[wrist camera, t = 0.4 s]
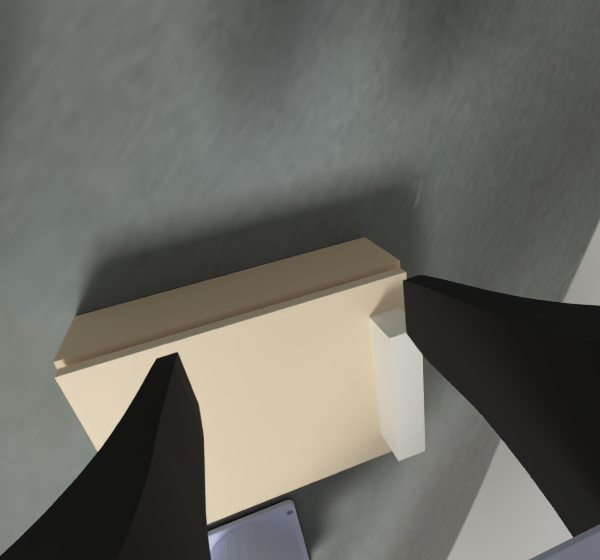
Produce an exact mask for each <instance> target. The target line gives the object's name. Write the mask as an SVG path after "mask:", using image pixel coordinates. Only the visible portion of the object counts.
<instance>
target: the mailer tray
mask: <svg viewBox="0 0 600 560" xmlns="http://www.w3.org/2000/svg"><path fill="white" fill-rule="evenodd" d="M396 268H400V260H398V259H397V258H395V257H394V256H393V255H391V254H390V253H388V252H387V251H385V250H384V249H382V248H381V247H379V246H378V245H376V244H375V243H373V242H372V241H370V240H369V239H367V238H366V237H362V238H359V239H355V240H352V241H348V242H344V243H341V244H337V245H333V246H330V247H326V248H322V249H319V250H315V251H311V252H308V253H304V254H301V255H297V256H293V257H290V258H286V259H282V260H279V261H275V262H271V263H268V264H264V265H260V266H257V267H253V268H249V269H246V270H242V271H239V272H235V273H231V274H228V275H224V276H220V277H217V278H213V279H209V280H206V281H202V282H198V283H195V284H191V285H188V286H184V287H180V288H177V289H173V290H169V291H166V292H162V293H158V294H155V295H151V296H147V297H144V298H140V299H137V300H133V301H129V302H126V303H122V304H118V305H115V306H111V307H107V308H104V309H100V310H96V311H93V312H89V313H86V314H82V315H78V316H75V317H74V320H73V322H72V324H71V326H70V328H69V330H68V332H67V334H66V336H65V338H64V341H63V343H62V345H61V347H60V349H59V351H58V353H57V355H56V357H55V359H54V364H55V366H56V368H57V369H59V368H62V367H66V366H69V365H72V364H76V363H79V362H82V361H86V360H89V359H93V358H96V357H99V356H103V355H106V354H109V353H113V352H116V351H120V350H123V349H126V348H130V347H133V346H136V345H140V344H143V343H147V342H150V341H153V340H157V339H160V338H163V337H167V336H170V335H174V334H177V333H180V332H184V331H187V330H190V329H194V328H197V327H201V326H204V325H207V324H211V323H214V322H217V321H221V320H224V319H228V318H231V317H234V316H238V315H241V314H244V313H248V312H251V311H255V310H258V309H261V308H265V307H268V306H271V305H275V304H278V303H281V302H285V301H288V300H292V299H295V298H298V297H302V296H305V295H308V294H312V293H315V292H319V291H322V290H325V289H329V288H332V287H335V286H339V285H342V284H346V283H349V282H352V281H356V280H359V279H362V278H366V277H369V276H373V275H376V274H379V273H383V272H386V271H389V270H393V269H396Z"/></svg>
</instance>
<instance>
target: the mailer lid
mask: <svg viewBox="0 0 600 560" xmlns="http://www.w3.org/2000/svg"><path fill="white" fill-rule="evenodd" d="M406 279H407V277H406V271H404V270H403V269H401V268H396V269H393V270H389V271H386V272H383V273H379V274H376V275H373V276H369V277H366V278H362V279H359V280H356V281H352V282H349V283H346V284H342V285H339V286H335V287H332V288H329V289H325V290H322V291H319V292H315V293H312V294H308V295H305V296H302V297H298V298H295V299H292V300H288V301H285V302H281V303H278V304H275V305H271V306H268V307H265V308H261V309H258V310H255V311H251V312H248V313H244V314H241V315H238V316H234V317H231V318H228V319H224V320H221V321H217V322H214V323H211V324H207V325H204V326H201V327H197V328H194V329H190V330H187V331H184V332H180V333H177V334H174V335H170V336H167V337H163V338H160V339H157V340H153V341H150V342H147V343H143V344H140V345H136V346H133V347H130V348H126V349H123V350H120V351H116V352H113V353H109V354H106V355H103V356H99V357H96V358H93V359H89V360H86V361H82V362H79V363H76V364H72V365H69V366H66V367H62V368H59V369H58V371H57V373H56V376H55V379H56V381H57V382H58V384H59V386H60V387H61V389H62V391H63V393H64V394H65V396H66V398H67V399H68V401H69V403H70V405H71V406H72V408H73V410H74V411H75V413H76V415H77V417H78V418H79V420H80V422H81V424H82V425H83V427H84V429H85V430H86V432H87V434H88V436H89V437H90V439H91V441H92V442H93V444H94V446H95V448H96V449H97V451H99V450H100V448H101V447H102V446H103V444H104V443H105V442H106V440H107V439H108V438H109V436H110V435H111V433H112V432H113V430H114V429H115V427H116V426H117V424H118V423H119V421H120V420H121V418H122V417H123V415H124V414H125V412H126V410H127V409H128V407H129V405H130V404H131V402H132V400H133V399H134V397H135V395H136V394H137V392H138V390H139V388H140V386H141V385H142V383H143V381H144V379H145V378H146V376H147V374H148V372H149V370H150V369H151V367H152V365H153V364H154V362H155V360H156V359H157V358H160V357H163V356H166V355H169V354H172V353H176V352H178V354H179V356H180V359H181V361H182V364H183V366H184V369H185V371H186V374H187V376H188V379H189V381H190V384H191V386H192V389H193V391H194V394H195V396H196V399H197V401H198V404H199V408H200V414H201V420H202V427H203V433H204V454H205V492H206V518H207V524H209V523H212V522H214V521H217V520H219V519H222V518H224V517H227V516H229V515H232V514H234V513H237V512H239V511H242V510H245V509H247V508H250V507H252V506H255V505H257V504H260V503H262V502H265V501H267V500H270V499H272V498H275V497H277V496H280V495H282V494H285V493H287V492H290V491H293V490H295V489H298V488H300V487H303V486H305V485H308V484H310V483H313V482H315V481H318V480H320V479H323V478H325V477H328V476H330V475H333V474H336V473H338V472H341V471H343V470H346V469H348V468H351V467H353V466H356V465H358V464H361V463H363V462H366V461H368V460H371V459H373V458H376V457H378V456H381V455H384V454H386V453H389V452H391V451H392V452H393V453H394V455H395V457H396V458H397V460H398V461H401V460H403V459H406V458H408V457H411V456H413V455H416V454H418V453H420V452H423V451H425V425H424V391H423V356H422V353H421V352H420V351H419V350H418V348H417V347H416V346H415V344H414V343H413V342H412V340H411V339H410V337H409V336H408V335H407V333H406V322H405V307H404V292H403V280H406Z"/></svg>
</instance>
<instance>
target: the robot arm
mask: <svg viewBox="0 0 600 560" xmlns="http://www.w3.org/2000/svg"><path fill="white" fill-rule="evenodd" d="M403 292H404V307H405V322H406V333H407V335H408V336H409V337H410V339H411V340H412V342H413V343H414V344H415V346H416V347H417V348H418V350H419V351H420V352H421V353H422V355H423V356H424V357H425V358H426V359H427V360H428V361H429V362H430V363H431V364H432V365H433V366H434V367H435V368H436V369H437V370H438V371H439V372H440V373H441V374H442V375H443V376H444V377H445V378H446V379H447V380H448V381H449V382H450V383H451V384H452V385H453V386H454V387H455V388H456V389H457V390H458V391H459V392H460V393H461V394H462V395H463V396H464V397H465V398H466V399H467V400H468V401H469V402H470V403H471V404H472V405H473V406H474V407H475V408H476V409H477V410H478V411H479V413H480V414H481V415H482V416H483V417H484V418H485V419H486V421H487V422H488V423H489V424H490V425H491V427H492V428H493V429H494V430H495V432H496V433H497V434H498V435H499V436H500V438H501V439H502V440H503V441H504V442H505V444H506V445H507V446H508V448H509V449H510V450H511V452H512V453H513V454H514V455H515V457H516V458H517V459H518V461H519V462H520V463H521V464H522V466H523V467H524V468H525V469H526V471H527V472H528V473H529V475H530V476H531V478H532V479H533V480H534V482H535V483H536V484H537V486H538V487H539V489H540V490H541V491H542V493H543V494H544V496H545V497H546V498H547V500H548V501H549V502H550V504H551V505H552V507H553V508H554V510H555V511H556V512H557V514H558V515H559V517H560V518H561V520H562V521H563V523H564V524H565V526H566V527H567V528H568V530H569V532H570V533H571V534H572V536H573V537H574V538H572V539H570V540H568V541H566V542H564V543H562V544H560V545H558V546H556V547H554V548H552V549H550V550H548V551H546V552H544V553H542V554H540V555H538V556H536V557H534V558H532V559H530V560H600V306H595V305H581V304H569V303H560V302H552V301H544V300H536V299H530V298H524V297H518V296H513V295H508V294H503V293H498V292H493V291H489V290H484V289H480V288H476V287H472V286H468V285H464V284H459V283H455V282H451V281H447V280H443V279H439V278H434V277H429V276H423V275H418V276H415V277H412V278H409V279H406V280H403ZM0 560H309V557H308V553H307V550H306V546H305V542H304V539H303V535H302V532H301V528H300V524H299V521H298V517H297V513H296V510H295V506H294V503H293V501H292V500H286V501H283V502H280V503H278V504H275V505H273V506H270V507H268V508H265V509H263V510H260V511H258V512H255V513H253V514H250V515H248V516H245V517H243V518H240V519H238V520H235V521H233V522H230V523H228V524H225V525H223V526H220V527H218V528H215V529H213V530H210V531H207V518H206V492H205V454H204V433H203V427H202V420H201V414H200V408H199V404H198V401H197V399H196V396H195V394H194V391H193V389H192V386H191V384H190V381H189V379H188V376H187V374H186V371H185V369H184V366H183V364H182V361H181V359H180V356H179V354H178V352H176V353H172V354H169V355H166V356H163V357H160V358H157V359H156V360H155V362H154V364H153V365H152V367H151V369H150V370H149V372H148V374H147V376H146V378H145V379H144V381H143V383H142V385H141V386H140V388H139V390H138V392H137V394H136V395H135V397H134V399H133V400H132V402H131V404H130V405H129V407H128V409H127V410H126V412H125V414H124V415H123V417H122V418H121V420H120V421H119V423H118V424H117V426H116V427H115V429H114V430H113V432H112V433H111V435H110V436H109V438H108V439H107V440H106V442H105V443H104V444H103V446H102V447H101V448H100V450H99V451H98V452H97V454H96V455H95V456H94V457H93V459H92V460H91V461H90V462H89V464H88V465H87V466H86V467H85V469H84V470H83V471H82V472H81V473H80V475H79V476H78V477H77V478H76V479H75V480H74V481H73V483H72V484H71V485H70V486H69V487H68V488H67V489H66V490H65V491H64V492H63V494H62V495H61V496H60V497H59V498H58V499H57V500H56V501H55V502H54V503H53V504H52V506H51V507H50V508H49V509H48V510H47V511H46V512H45V513H44V514H43V515H42V516H41V517H40V518H39V519H38V520H37V521H36V522H35V523H34V524H33V525H32V526H31V527H30V528H29V529H28V530H27V531H26V532H25V533H24V534H23V535H22V536H21V537H20V538H19V539H18V540H17V541H16V542H15V543H14V544H13V545H12V546H10V547H9V548H8V549H7V550H6V551H5V552H4V553H3V554H2V555H1V556H0Z"/></svg>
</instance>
